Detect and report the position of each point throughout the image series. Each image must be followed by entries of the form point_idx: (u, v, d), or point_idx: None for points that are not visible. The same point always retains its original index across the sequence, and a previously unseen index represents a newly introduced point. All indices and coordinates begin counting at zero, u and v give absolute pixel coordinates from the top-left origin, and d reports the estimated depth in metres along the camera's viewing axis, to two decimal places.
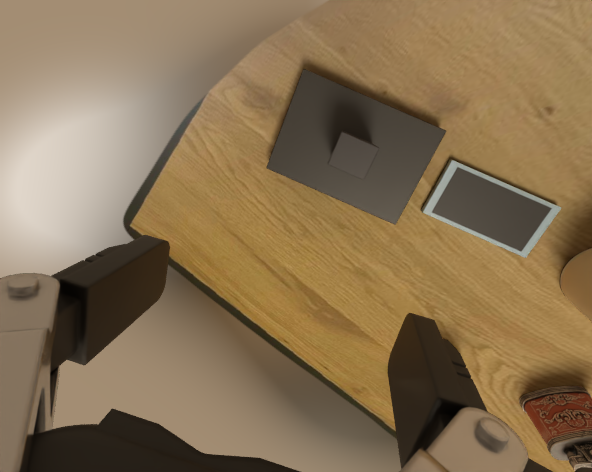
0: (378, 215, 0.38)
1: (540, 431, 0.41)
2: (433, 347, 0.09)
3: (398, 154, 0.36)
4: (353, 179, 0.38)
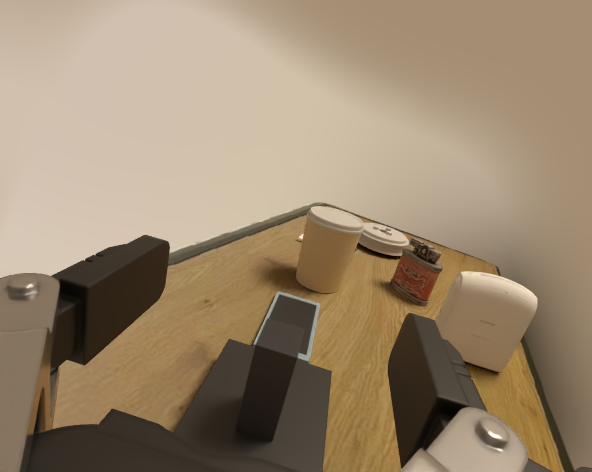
0: (328, 385, 0.32)
1: (433, 281, 0.58)
2: (433, 347, 0.09)
3: None
4: (295, 413, 0.29)
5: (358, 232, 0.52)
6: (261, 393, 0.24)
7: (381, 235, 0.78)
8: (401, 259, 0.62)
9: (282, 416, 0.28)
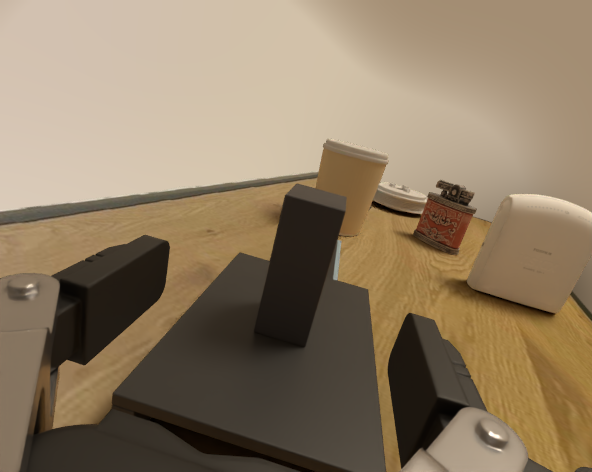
0: (367, 301, 0.26)
1: (466, 224, 0.51)
2: (433, 347, 0.09)
3: None
4: (330, 323, 0.22)
5: (383, 161, 0.45)
6: (291, 272, 0.17)
7: (399, 191, 0.71)
8: (427, 205, 0.55)
9: (315, 324, 0.21)
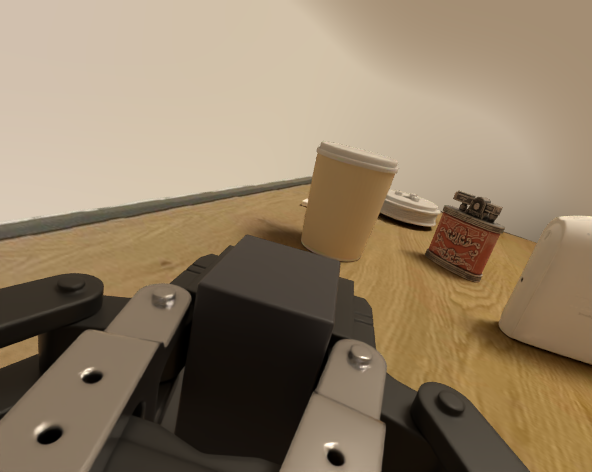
0: None
1: (491, 246, 0.42)
2: (341, 299, 0.10)
3: None
4: None
5: (392, 170, 0.36)
6: (223, 433, 0.08)
7: (407, 200, 0.62)
8: (442, 220, 0.46)
9: None
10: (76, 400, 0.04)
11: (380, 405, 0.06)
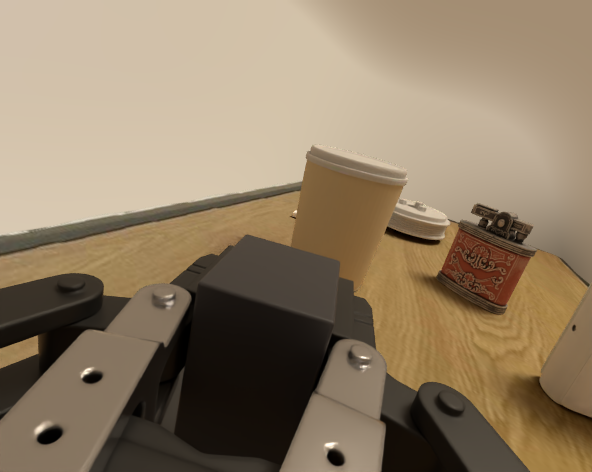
0: None
1: (520, 272, 0.34)
2: (341, 299, 0.10)
3: None
4: None
5: (401, 181, 0.28)
6: (222, 433, 0.08)
7: (412, 210, 0.55)
8: (458, 239, 0.39)
9: None
10: (76, 400, 0.04)
11: (380, 405, 0.06)
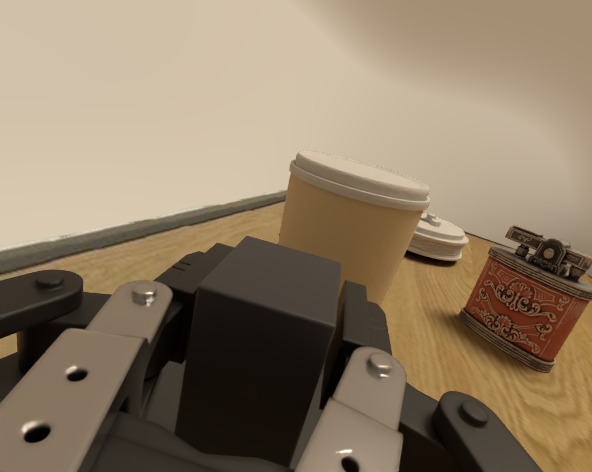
0: None
1: (575, 319, 0.26)
2: (355, 305, 0.10)
3: None
4: None
5: (422, 205, 0.20)
6: (222, 437, 0.08)
7: (424, 225, 0.46)
8: (488, 270, 0.30)
9: None
10: (62, 398, 0.04)
11: (398, 416, 0.06)
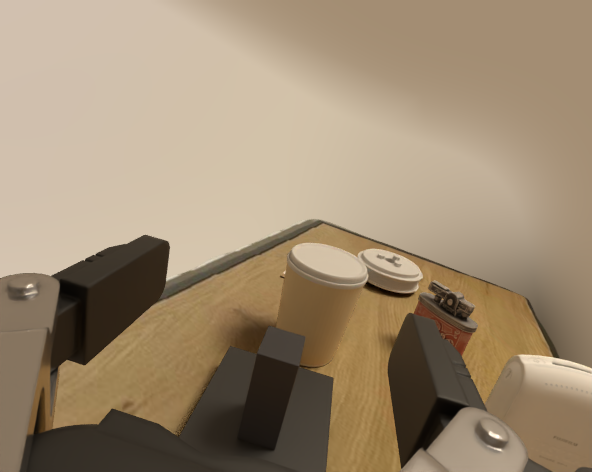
0: (330, 392, 0.32)
1: (464, 344, 0.42)
2: (433, 347, 0.09)
3: None
4: (297, 421, 0.28)
5: (360, 285, 0.36)
6: (263, 401, 0.24)
7: (388, 266, 0.62)
8: (418, 309, 0.46)
9: (284, 424, 0.28)
10: None
11: None
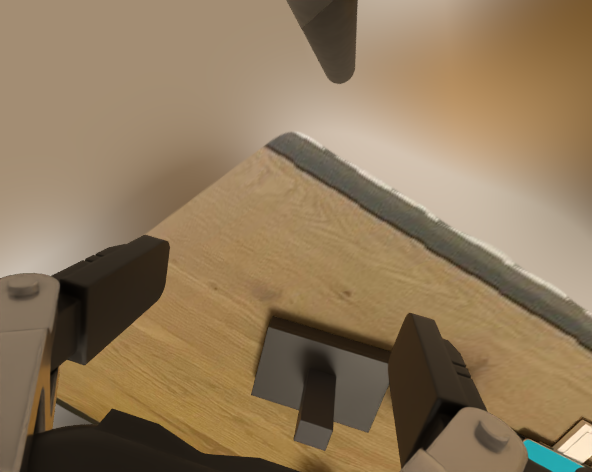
0: (352, 426, 0.44)
1: None
2: (433, 347, 0.09)
3: (359, 383, 0.42)
4: None
5: None
6: (302, 400, 0.39)
7: None
8: None
9: None
10: None
11: None
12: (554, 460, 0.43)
